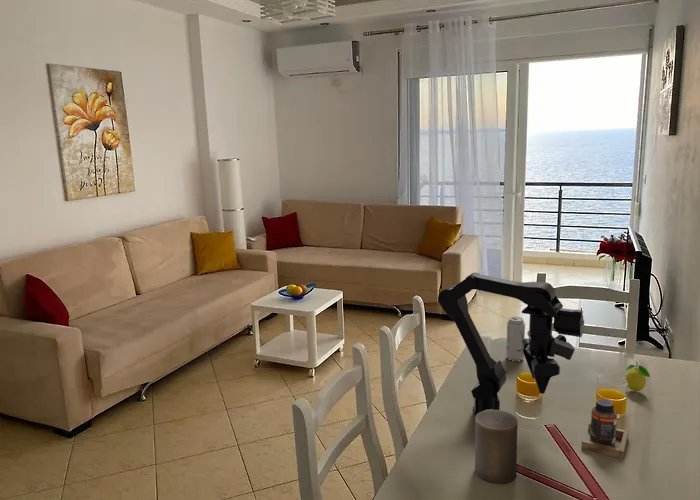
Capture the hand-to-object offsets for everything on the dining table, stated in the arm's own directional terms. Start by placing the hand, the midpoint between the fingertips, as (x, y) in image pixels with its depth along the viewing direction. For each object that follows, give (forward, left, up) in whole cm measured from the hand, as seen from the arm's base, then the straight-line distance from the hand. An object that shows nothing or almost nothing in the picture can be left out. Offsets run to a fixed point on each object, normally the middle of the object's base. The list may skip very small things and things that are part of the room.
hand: (538, 385), depth 146 cm
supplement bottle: (+15, -7, -12) cm, 21 cm away
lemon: (+34, +23, -12) cm, 43 cm away
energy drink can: (+2, +47, -12) cm, 49 cm away
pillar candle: (-14, -22, -12) cm, 29 cm away
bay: (+15, -7, -12) cm, 21 cm away
